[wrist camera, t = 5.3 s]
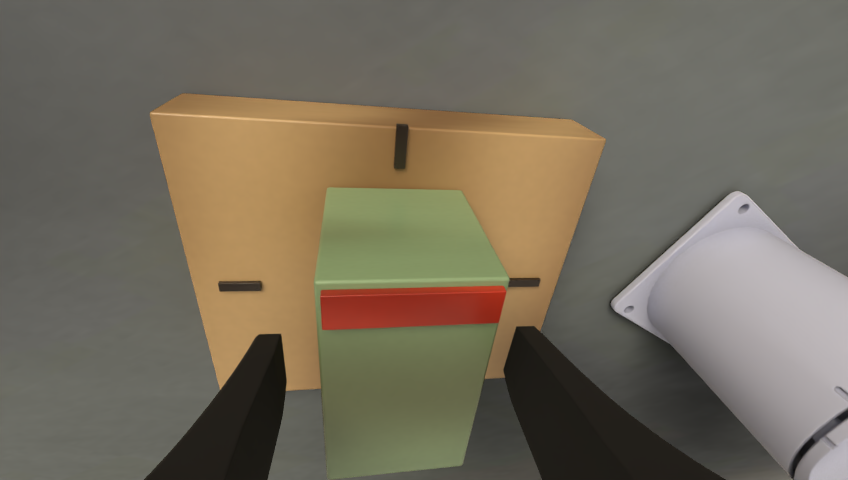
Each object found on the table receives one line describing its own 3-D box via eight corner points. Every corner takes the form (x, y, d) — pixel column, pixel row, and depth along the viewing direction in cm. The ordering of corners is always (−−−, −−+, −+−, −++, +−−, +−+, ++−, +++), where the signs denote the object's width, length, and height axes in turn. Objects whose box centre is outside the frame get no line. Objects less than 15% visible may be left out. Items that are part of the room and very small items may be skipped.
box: (436, 353, 18) (464, 473, 13) (333, 359, 17) (326, 489, 12) (462, 189, 13) (515, 284, 9) (326, 186, 13) (311, 289, 8)
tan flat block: (573, 116, 15) (611, 137, 13) (507, 341, 22) (525, 381, 19) (180, 89, 13) (143, 109, 11) (235, 352, 19) (220, 400, 17)
